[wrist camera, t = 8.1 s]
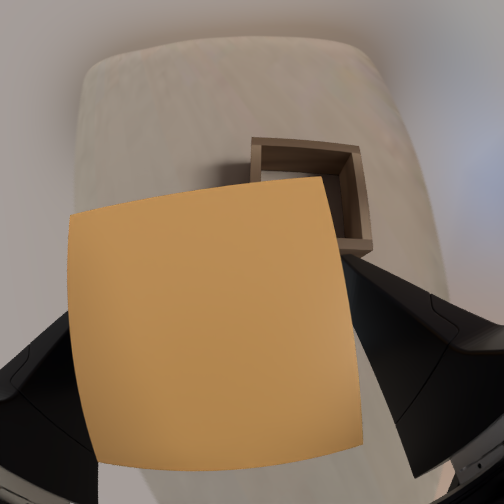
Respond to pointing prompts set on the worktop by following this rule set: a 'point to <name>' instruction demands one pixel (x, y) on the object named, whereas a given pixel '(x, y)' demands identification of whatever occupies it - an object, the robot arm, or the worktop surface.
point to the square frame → (324, 162)
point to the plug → (213, 329)
